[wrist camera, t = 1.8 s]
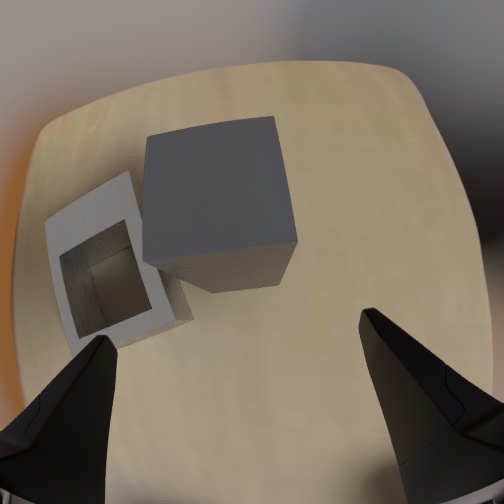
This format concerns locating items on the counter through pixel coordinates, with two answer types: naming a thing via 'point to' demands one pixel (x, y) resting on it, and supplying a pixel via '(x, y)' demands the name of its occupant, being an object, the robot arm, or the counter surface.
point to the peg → (218, 205)
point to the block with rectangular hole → (97, 249)
